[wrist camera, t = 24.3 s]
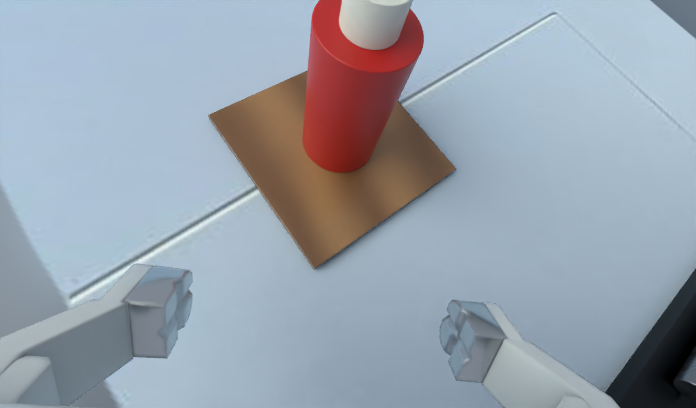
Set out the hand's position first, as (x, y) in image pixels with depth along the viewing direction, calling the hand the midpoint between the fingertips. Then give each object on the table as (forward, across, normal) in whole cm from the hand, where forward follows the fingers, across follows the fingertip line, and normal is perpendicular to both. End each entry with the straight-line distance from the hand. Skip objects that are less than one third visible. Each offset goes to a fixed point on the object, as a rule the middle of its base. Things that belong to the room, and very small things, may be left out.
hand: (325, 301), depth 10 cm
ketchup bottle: (+14, -1, -2) cm, 14 cm away
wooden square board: (+14, 0, -2) cm, 14 cm away
